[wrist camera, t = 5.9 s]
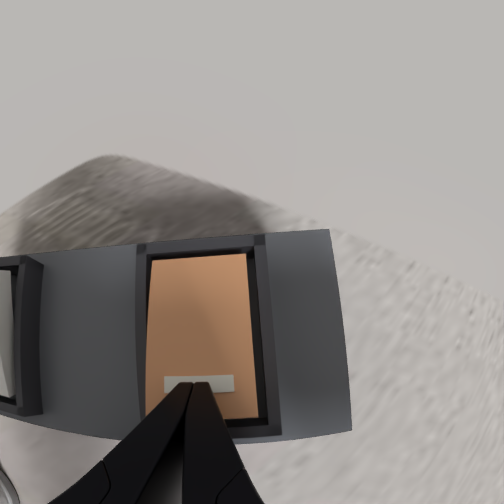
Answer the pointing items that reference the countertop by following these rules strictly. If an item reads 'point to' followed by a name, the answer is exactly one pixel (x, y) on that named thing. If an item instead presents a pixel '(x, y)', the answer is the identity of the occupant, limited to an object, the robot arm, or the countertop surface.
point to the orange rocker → (201, 331)
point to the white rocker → (6, 336)
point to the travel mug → (7, 491)
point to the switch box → (135, 335)
